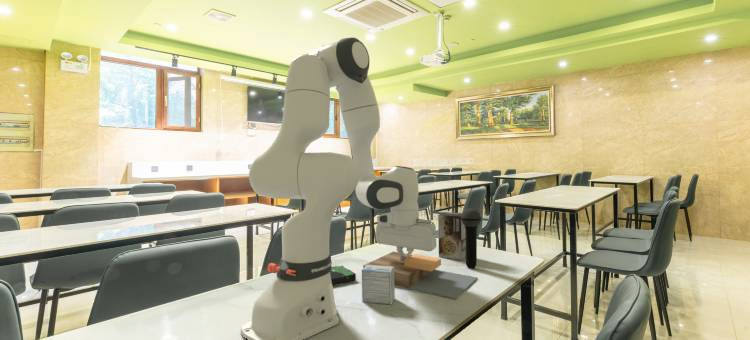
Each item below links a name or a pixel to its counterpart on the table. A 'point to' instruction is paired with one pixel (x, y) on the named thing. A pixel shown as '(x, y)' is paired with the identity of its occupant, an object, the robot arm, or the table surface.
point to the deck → (400, 270)
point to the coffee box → (451, 236)
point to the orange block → (422, 262)
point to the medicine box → (378, 284)
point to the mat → (444, 284)
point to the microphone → (471, 235)
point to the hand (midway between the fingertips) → (405, 260)
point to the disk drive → (341, 275)
